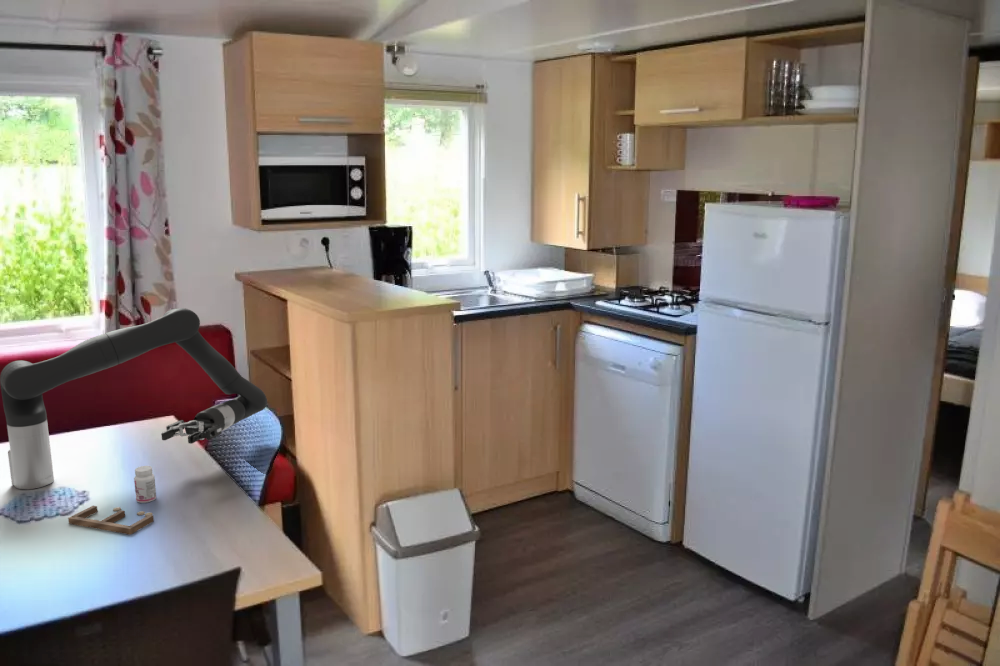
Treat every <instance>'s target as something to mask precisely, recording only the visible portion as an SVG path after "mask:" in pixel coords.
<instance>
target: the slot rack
mask: <svg viewBox="0 0 1000 666" xmlns="http://www.w3.org/2000/svg"><path fill="white" fill-rule="evenodd" d="M112 511H113V512H115V513H112V514H111V515H109V516H107V517H105V518H103V519H101V520H99V519H92V518H88V517H90V516H92V515H94V514H97V513H98V506H97V505H91V506H89V507H87V508H85V509H84V510H80V511H78V512H77V513H75V514H73V515H70V516H69V517H68V518H67V519H68V524H69V525H74V526H80V527H85V528H92V529H96V530H100V531H101V530H102V531H107V532H113V533H117V534H119V533H120V534H123V535H124V534H125V535H129V536H130V535H133V534H134V533H137V532H138V531H140V530H142V529H143V528H145V527H146V526H149V525H150V524H152V523H153V522H154V521H155V519H154V513H153V512H146V511H144V510H143V511H142V510H141V511H138V512H136V515H137V516H143V515H144V517H143V518H141V519H139V520H138V521H136V522H134V523H132V524H130V525H126V524H119V523H116V522H117V521H120V520H122V519H123V518H126V511H125V510H122V508H121V506H116V507H113V509H112Z"/></svg>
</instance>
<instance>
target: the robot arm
mask: <svg viewBox="0 0 1000 666" xmlns="http://www.w3.org/2000/svg"><path fill="white" fill-rule="evenodd" d="M200 326H201V322H200V318H199V316H198V315H197V313H195V312H194V311H193V310H191V309H188V308H184V307H180V308H179V307H178V308H173V309H172V308H171V309H169V310H167V311H166V312H165V313H164V314H163V315H162V316H160V317H158V318H156V319H154V320H152V321H149V322H145V323H143V324H139V325H134V326H133V325H132V326H129V327H123V328H119V329H115V330H112V331H107V332H105V333H103V334H100V335H99V334H98V335H96V336H93V337H90V338H88V339H86V340H84V341H82V342H80V343H78V344H76V345H75V346H73V347H71V348H70V349H69V350H67V351H66V352H63V353H62V354H60V355H58V356H56V357H52V358H49V359H47V360H43V361H38V362H35V363H32V362H30V361H27V360H14V361H11V362H9V363H8V364H6V365H5V366H4V367H3V369H2V370H1V372H0V392H1V397H2V406H3V411H4V415H5V421H6V429H7V436H8V443H9V450H8V451H7V458H8V465H9V472H10V473H9V474H10V479H11V480H10V481H11V485H12V486H14V487H15V488H16V489H19V490H32V489H38V488H42V487H45V486H48V485H50V484H52V483H53V482H54V481H55V477H54V469H53V460H52V452H51V443H50V434H49V426H48V425H49V424H48V417H47V416H48V414H47V410H46V406H45V403H44V398H43V397H44V396H43V394H44V393H47V392H49V391H50V390H53V389H55V388H57V387H59V386H60V385H64V384H65V383H68V382H71V381H74V380H76V379H77V380H78V379H80V378H83V377H87V376H89V375H92V374H95V373H98V372H101V371H103V370H107V369H109V368H112V367H115V366H118V365H120V364H123V363H125V362H127V361H130V360H132V359H135V358H136V357H137V358H138V357H139V356H141V355H143V354H145V353H148V352H150V351H151V350H154V349H157V348H159V347H162V346H166V345H169V344H174V343H175V344H176V345H177V346H179V347H180V348H182V350H184V351H185V352H186V353H187V354H188V355H189V356H190V357H191V358H192V359H193V360H194V361H195V362H196V363H197V364H198V365H199V367H200V368H202V370H203V371H204V372H205V373H206V374H207V375H208V377H210V379H211V380H212V382H213V383H214V384H215V385H216V386H217V387H218V388H219V389H220V390H221V391H222V392H223V393H224V394H225V395H234V394H235V395H238V396H237V397H234V398H233V399H229V400H227V401H224V402H222V403H219V404H217V405H216V404H215V405H212V406H211V407H209V408H206V409H204V410H202V411H200V412H197V414H196V415H195V417H194V418H193V420H189V421H187V422H186V421H184V420H183V419H181V420H177V421H175V422H173V423H171V424H168V425H166V426H165V428H166V430H164V431H162V433H161V440H162V441H168V440H169V439H172V438H173V437H177V436H180V437H181V438H183V437H187V443H188V444H189V445H191V444H194V443H196V442H198V441H204V440H205V439H206V440H207V441H210V440H212V439H214V438H216V437H218V436H219V435H221V434H222V432H223V431H225V430H227V429H228V428H230V427H232V426H233V425H236V424H237V423H239V422H241V421H243V420H245V419H247V418H249V417H252V416H253V415H256V414H257V413H260V412H261V411H263V410H264V409H266V408H267V405H268V398H267V396H266V393H265V392H264V391H263V390H262V389H260V387H258V386H257V385H255V383H253V382H251V381H249V380H248V379H247V378H245V377H244V376H242V375H241V373H239V371H238V370H237V369H236V368H235V367H234V366H233V364H232V363H231V362H230V361H228V359H227V358H226V357H225V356H224V355H222V354H221V353H220V352H218V351H217V350H216V349H215V348H214V347H213V346H212V345H211V344H210V343H209V342H208V340H206V339H205V338H204V337H203V336H202V334H201V333H200V331H199V329H200ZM184 430H185V432H184Z"/></svg>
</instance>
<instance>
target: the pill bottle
mask: <svg viewBox="0 0 1000 666" xmlns="http://www.w3.org/2000/svg"><path fill="white" fill-rule="evenodd" d="M134 475H135V476H134V478H133V480H134V481H133V482H134V492H135V501H136V503H137V502H138V503H139V504H145V503H146V504H147V503H151V502H153V501H155V500H156V499H157V488H156V479H155V474H154V473H153V467H152V466H151V465H141V466H138V467H136V468H135V469H134Z"/></svg>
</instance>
